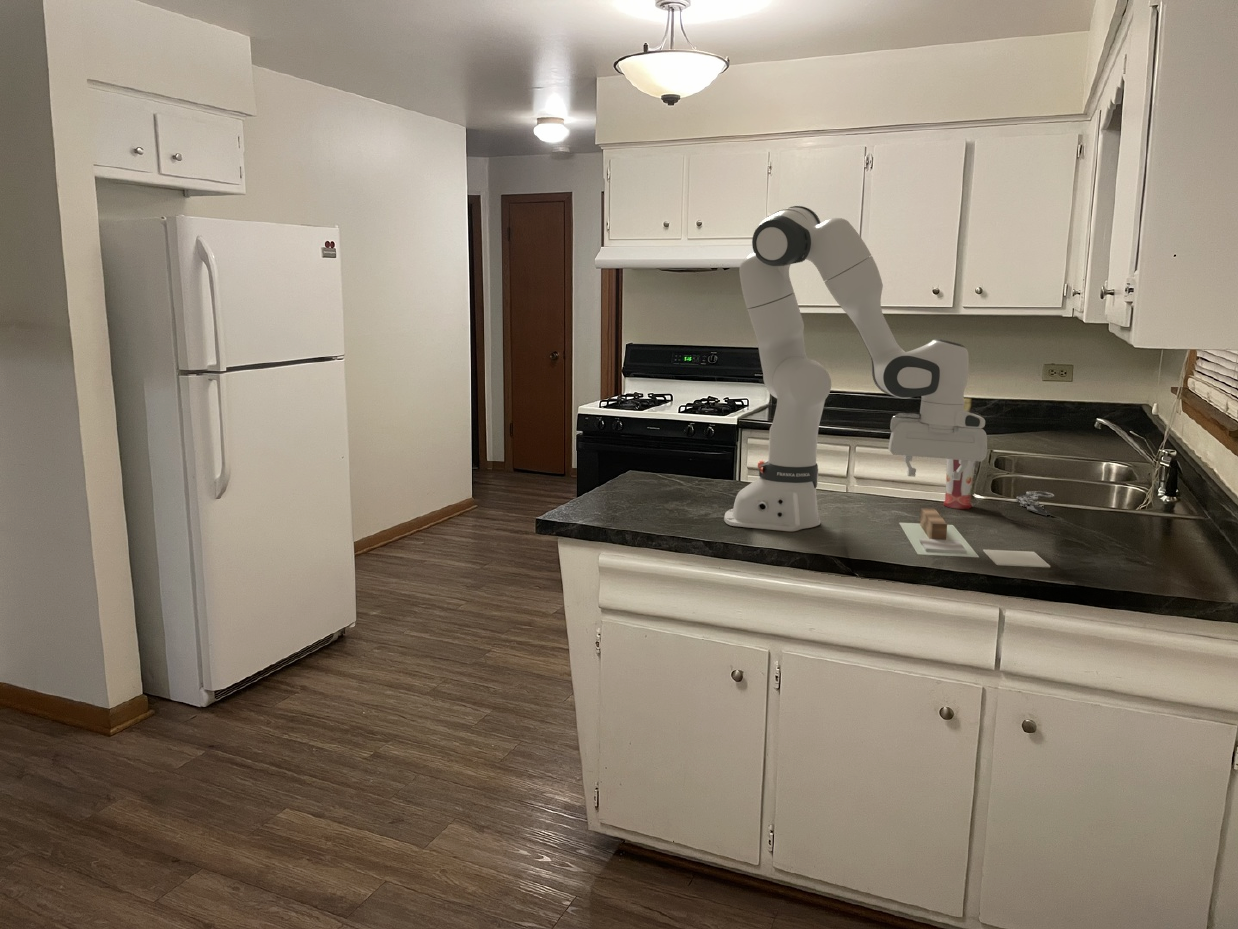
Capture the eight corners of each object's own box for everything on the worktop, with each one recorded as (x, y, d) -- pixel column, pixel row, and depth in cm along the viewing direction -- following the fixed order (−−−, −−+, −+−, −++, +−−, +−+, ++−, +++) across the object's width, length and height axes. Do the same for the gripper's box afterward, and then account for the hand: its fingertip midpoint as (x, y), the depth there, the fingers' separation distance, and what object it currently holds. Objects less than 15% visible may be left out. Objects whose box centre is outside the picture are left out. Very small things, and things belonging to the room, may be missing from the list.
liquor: (970, 514, 220) (979, 401, 214) (939, 511, 223) (947, 399, 218) (974, 508, 226) (983, 398, 221) (944, 505, 229) (952, 396, 224)
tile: (982, 557, 185) (996, 572, 176) (983, 549, 185) (996, 563, 175) (1033, 559, 184) (1049, 574, 174) (1033, 551, 184) (1050, 566, 174)
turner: (908, 524, 206) (910, 507, 205) (945, 526, 204) (946, 509, 204) (925, 551, 184) (927, 532, 184) (966, 553, 183) (967, 534, 182)
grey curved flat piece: (1057, 514, 217) (1013, 507, 221) (1056, 521, 217) (1012, 513, 221) (1059, 493, 241) (1019, 487, 246) (1058, 498, 242) (1018, 492, 246)
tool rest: (917, 558, 183) (917, 554, 182) (898, 526, 208) (899, 522, 208) (979, 561, 181) (979, 557, 181) (952, 529, 206) (952, 525, 206)
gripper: (893, 413, 192) (886, 476, 194) (993, 420, 189) (984, 484, 192) (889, 410, 198) (882, 471, 200) (985, 417, 195) (977, 478, 198)
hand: (933, 478), depth 196 cm, fingers open, 8 cm apart
